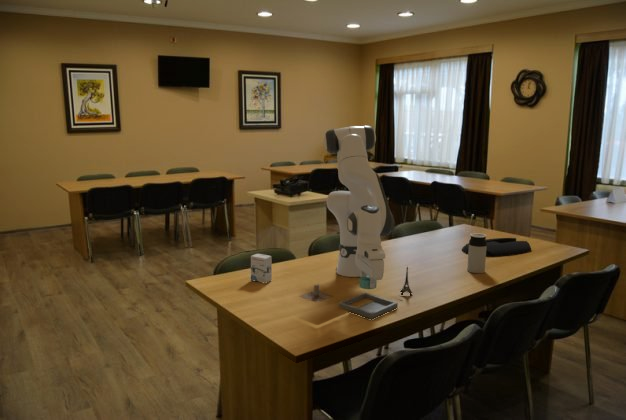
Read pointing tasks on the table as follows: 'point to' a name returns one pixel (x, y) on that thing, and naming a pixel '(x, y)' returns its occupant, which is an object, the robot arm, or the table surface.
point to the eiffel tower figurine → (406, 284)
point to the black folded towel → (503, 247)
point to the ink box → (261, 268)
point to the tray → (369, 306)
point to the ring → (365, 282)
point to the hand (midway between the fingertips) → (368, 284)
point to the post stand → (316, 295)
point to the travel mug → (477, 253)
